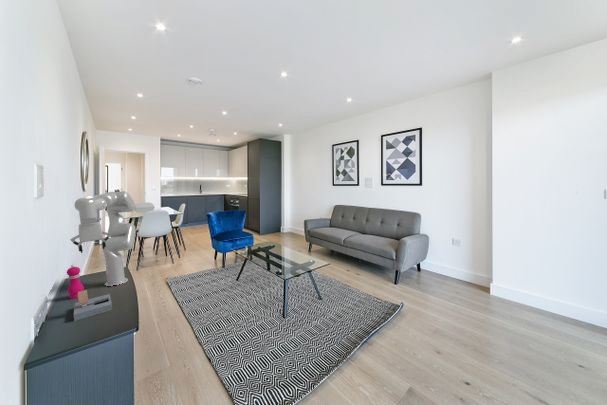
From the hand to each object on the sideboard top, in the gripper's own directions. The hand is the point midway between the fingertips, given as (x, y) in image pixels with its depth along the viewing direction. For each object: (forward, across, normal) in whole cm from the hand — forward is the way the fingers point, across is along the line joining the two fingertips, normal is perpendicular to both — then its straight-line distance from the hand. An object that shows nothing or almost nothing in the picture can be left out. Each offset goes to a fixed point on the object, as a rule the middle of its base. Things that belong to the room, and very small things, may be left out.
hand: (92, 250), depth 141 cm
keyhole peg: (+29, +6, +13) cm, 33 cm away
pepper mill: (+30, +10, -16) cm, 35 cm away
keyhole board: (+29, +3, +13) cm, 32 cm away
